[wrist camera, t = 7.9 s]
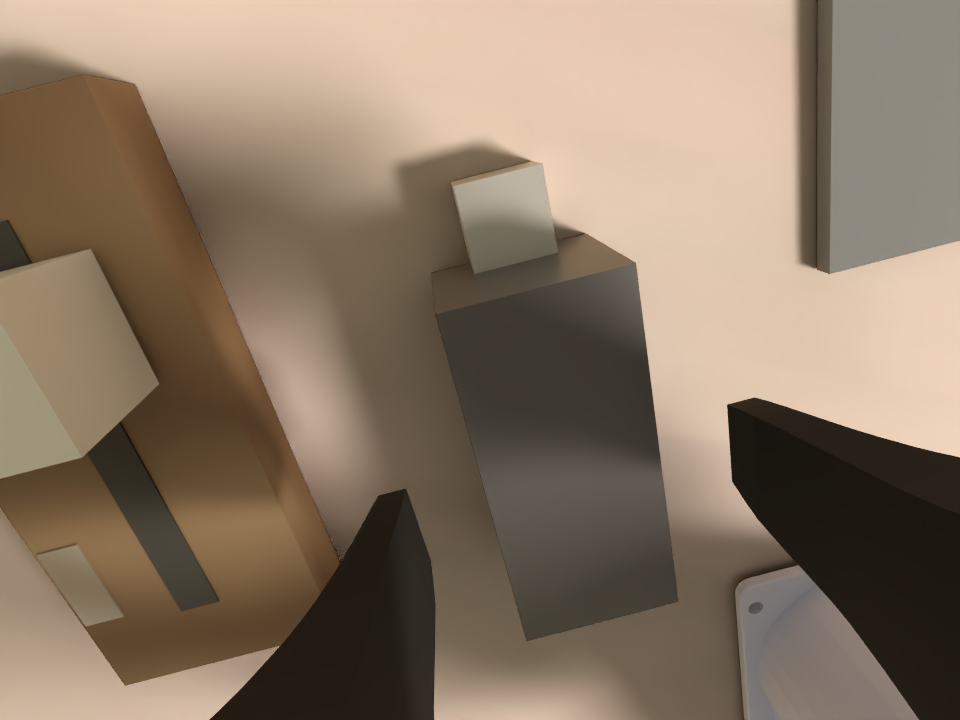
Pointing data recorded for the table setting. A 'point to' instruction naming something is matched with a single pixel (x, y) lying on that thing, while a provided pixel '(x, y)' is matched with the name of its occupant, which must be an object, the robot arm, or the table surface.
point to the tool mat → (887, 129)
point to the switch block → (154, 408)
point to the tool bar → (556, 406)
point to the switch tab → (63, 362)
